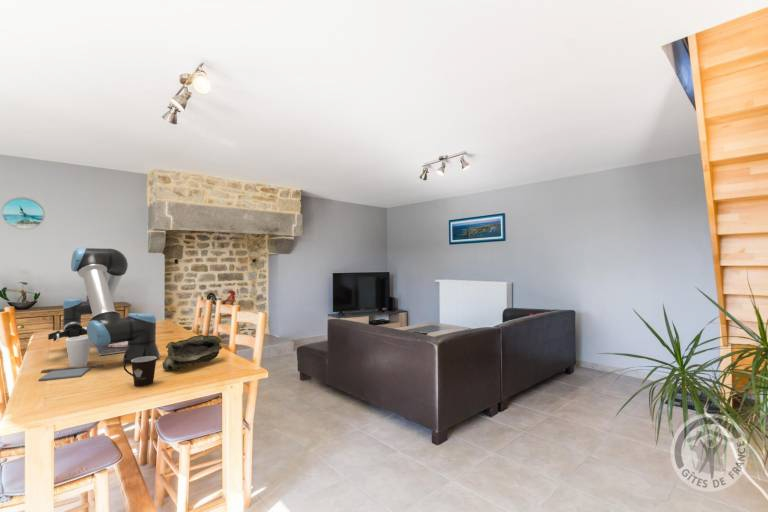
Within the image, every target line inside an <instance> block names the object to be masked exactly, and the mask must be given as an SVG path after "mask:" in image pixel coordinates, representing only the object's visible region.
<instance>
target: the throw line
mask: <svg viewBox="0 0 768 512" xmlns="http://www.w3.org/2000/svg"><path fill="white" fill-rule="evenodd" d="M90 367H91V369H98V368H103V367H104V363H102V364H93V365H92V364H89V365H86V366H78V367H70V366H69V367H60V368H59V367H58V368H47V369H42V370H40V374H48V373H49V372H51V371H58V370H68V369H79V368H90Z"/></svg>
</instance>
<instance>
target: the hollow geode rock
mask: <svg viewBox="0 0 768 512" xmlns="http://www.w3.org/2000/svg"><path fill="white" fill-rule="evenodd" d="M221 342H223V341H222V340H221V339H220V338H219V337H218V336H217V335H202V334H199V335H194V336H191V337H188V338H187V339H182V340H178V341H175V342H174V341H170V342H168V344H167V345H166V346H165V348H166V349H167V356H166V358H165V359H164V361H162V369H163V370H164V371H167V372H168V371H169V372H170V371H171V372H172V371H181V370H182V369H183V368H185V367H187V366H190V365H191V366H192V365H193V366H194V365H199V364H201V363H204V362H205V363H206V362H210V361H212V360H214V359H215V358H217V357H218V355H219V354H220V351H221V350H222V348H223V346H221Z"/></svg>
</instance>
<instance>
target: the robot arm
mask: <svg viewBox="0 0 768 512" xmlns="http://www.w3.org/2000/svg"><path fill="white" fill-rule="evenodd" d="M70 268H71V271H72V272H77V275H78V277H81V278H83V283H84V286H85V291H86V294H87V298H88V300H87V301H85V300H84V301H83V300H82V299H81V298H67V299H64V301H63V305H62V306H63V308H62V310H63V311H62V312H63V313H62V314H63V316H62V317H63V318H62V330H63V331H61V330H56V331H54V332H51V333H49V334H47V340H48V341H50V340H53V342H55V341H56V342H57V343H58V342H60V339H62V338H72V337H79V336H88V338H89V340H90V342H91V344H92V345H94V346H108V345H113V344H120V343H125V342H127V346H126V349H125V352H124V355H123V357H122V363H123V364H125V363H127V362H131V360H132V359H135V358H139V357H146V356H154V357H157V359H156V361H157V360H159V359H160V357H161V356H160V355H161V354H160V350H159V349H158V346H157V344H156V340H157V339H156V338H157V337H156V335H157V334H156V333H157V332H156V330H157V326H156V325H157V321H156V315H155V314H152V313H142V312H140V313H139V312H134V313H133V312H132V313H128V314H127V316H125V317H124V316H123V317H122V315H121V313H120V312H119V311H116V309H115V306H114V305H115V304H114V302H113V297H114V294H115V292H116V290H117V287H118V286H119V284H120V281H121V278H122V277H123V276H124V275H125V274H126V272H127V270H128V268H129V264H128V259H127V258H126V256H125V254H124V253H122V252H121V251H119V250H117V249H115V248H96V247H95V248H93V247H92V248H91V247H89V248H88V247H80V248H76V249H74V251H73V253H72V256H71V261H70ZM86 315H92V317H90V319H89V322H87V324H86V327H85V328H86V329H85V328H84V327H83V326H82V316H86ZM127 365H130V364H129V363H128V364H127Z"/></svg>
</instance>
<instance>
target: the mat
mask: <svg viewBox="0 0 768 512" xmlns="http://www.w3.org/2000/svg"><path fill="white" fill-rule="evenodd" d="M91 369H92V368H91V367H90V368H79V369H68V370H58V371H51V372H48V373H45V375H43V376H42V377H40V378H38V382H46V381H55V380H64V379H74V378H81V377H83V376H84V375H85V374H86V373H88V372H89V371H90V370H91Z"/></svg>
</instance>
